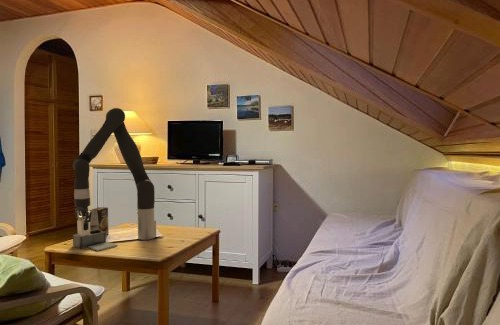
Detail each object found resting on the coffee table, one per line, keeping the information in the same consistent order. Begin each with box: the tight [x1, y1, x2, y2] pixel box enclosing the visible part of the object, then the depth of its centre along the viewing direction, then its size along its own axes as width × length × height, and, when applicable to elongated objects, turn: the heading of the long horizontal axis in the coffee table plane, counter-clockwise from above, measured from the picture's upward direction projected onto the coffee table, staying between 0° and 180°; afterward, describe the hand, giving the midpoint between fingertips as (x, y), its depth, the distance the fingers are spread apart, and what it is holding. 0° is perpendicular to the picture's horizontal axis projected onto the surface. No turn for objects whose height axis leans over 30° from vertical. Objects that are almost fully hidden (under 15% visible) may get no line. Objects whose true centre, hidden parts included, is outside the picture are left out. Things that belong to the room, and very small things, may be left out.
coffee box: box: [89, 206, 109, 236], centre depth 220 cm, size 9×6×16 cm
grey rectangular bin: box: [72, 230, 107, 250], centre depth 203 cm, size 14×8×6 cm, turn 140°
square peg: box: [76, 220, 90, 237], centre depth 201 cm, size 4×4×12 cm
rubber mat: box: [88, 241, 118, 252], centre depth 199 cm, size 11×9×1 cm
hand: (83, 229), depth 200 cm, fingers closed on square peg, 4 cm apart
